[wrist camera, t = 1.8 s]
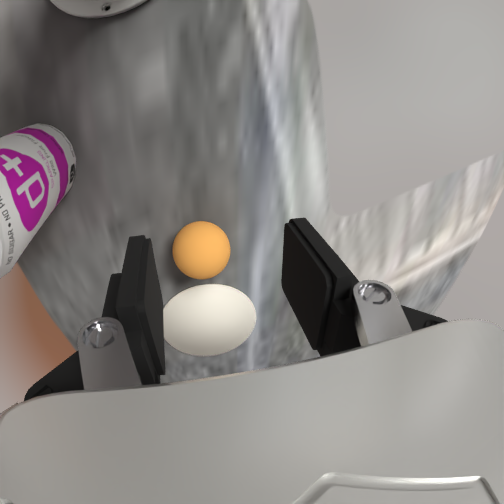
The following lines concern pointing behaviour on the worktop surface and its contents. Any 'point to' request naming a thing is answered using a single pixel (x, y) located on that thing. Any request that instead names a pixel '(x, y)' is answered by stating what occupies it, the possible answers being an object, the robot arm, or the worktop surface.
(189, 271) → the ball
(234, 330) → the disc
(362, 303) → the robot arm
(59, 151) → the supplement can
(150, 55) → the worktop surface
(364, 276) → the worktop surface
